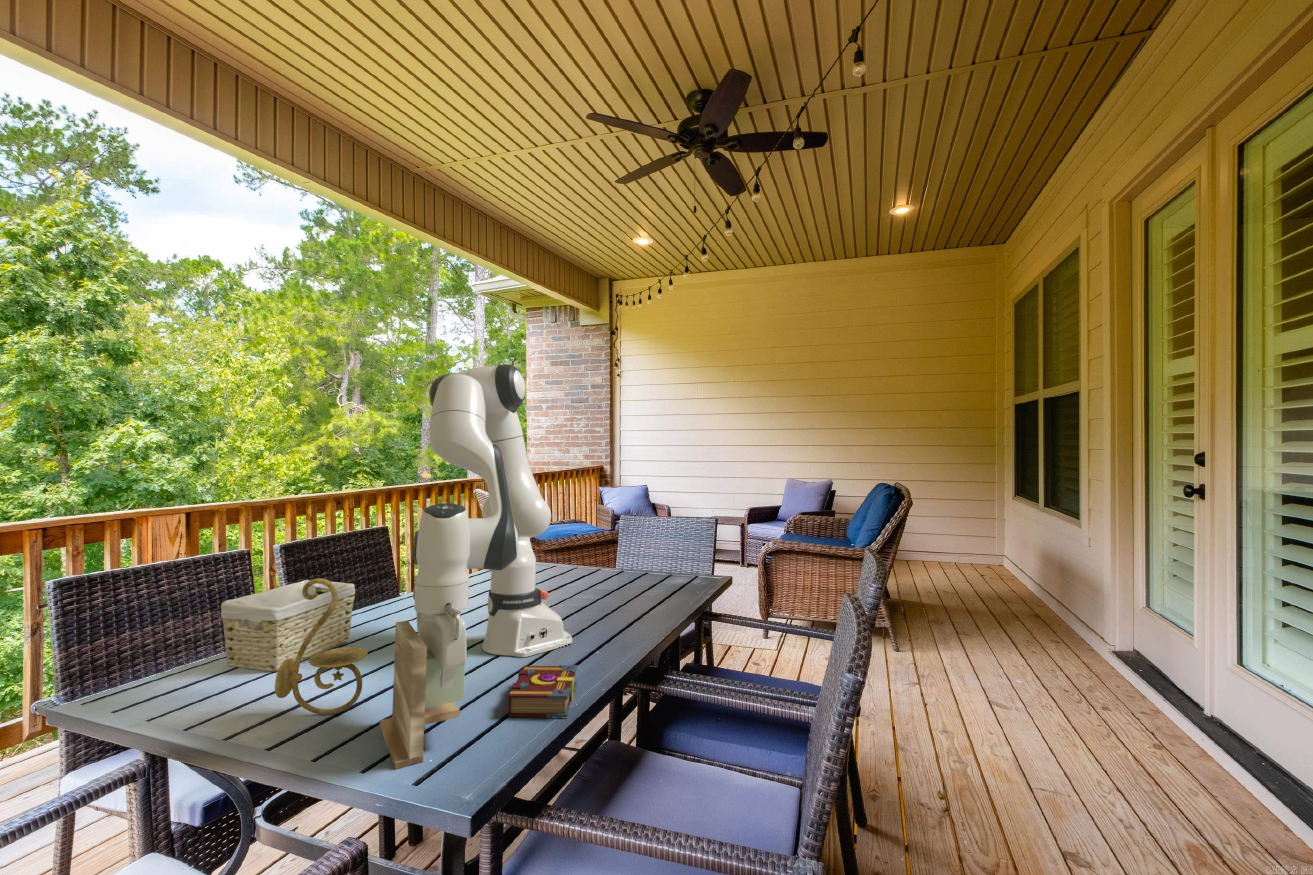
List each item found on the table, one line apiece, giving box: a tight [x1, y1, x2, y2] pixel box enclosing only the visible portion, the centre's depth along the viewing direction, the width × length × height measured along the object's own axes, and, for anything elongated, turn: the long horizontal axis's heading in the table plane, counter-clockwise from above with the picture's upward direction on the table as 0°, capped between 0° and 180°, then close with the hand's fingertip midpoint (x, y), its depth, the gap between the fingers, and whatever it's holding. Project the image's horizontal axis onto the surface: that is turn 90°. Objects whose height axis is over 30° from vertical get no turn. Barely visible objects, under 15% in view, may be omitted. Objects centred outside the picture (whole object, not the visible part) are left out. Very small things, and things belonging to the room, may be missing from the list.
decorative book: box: [507, 664, 578, 719], centre depth 112 cm, size 11×16×5 cm
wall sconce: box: [274, 578, 368, 716], centre depth 103 cm, size 14×10×25 cm
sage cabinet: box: [425, 649, 466, 708], centre depth 98 cm, size 8×6×10 cm
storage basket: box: [220, 579, 356, 673], centre depth 133 cm, size 24×16×15 cm
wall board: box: [379, 620, 461, 770], centre depth 96 cm, size 10×16×18 cm, turn 34°
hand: (439, 677), depth 97 cm, fingers open, 8 cm apart
